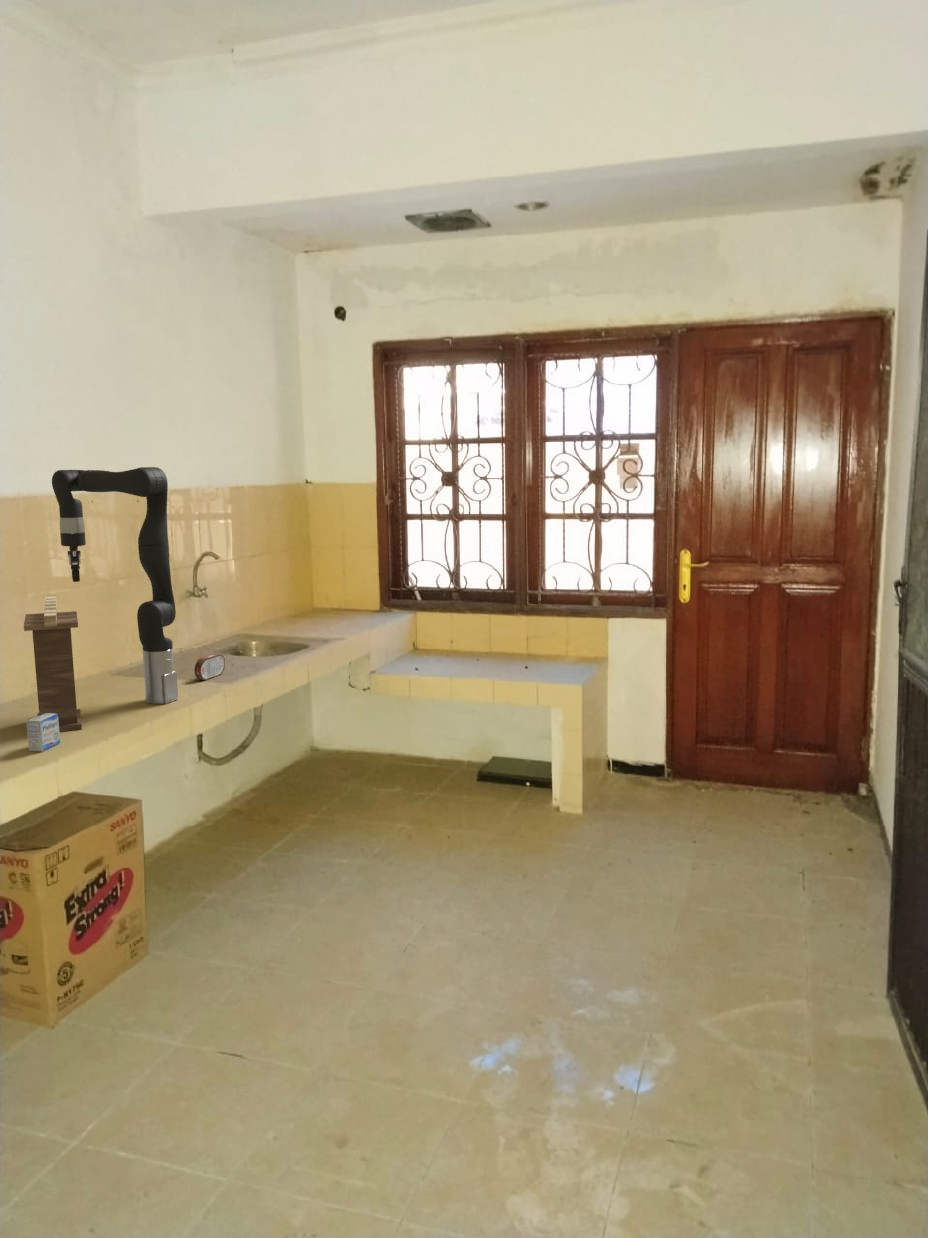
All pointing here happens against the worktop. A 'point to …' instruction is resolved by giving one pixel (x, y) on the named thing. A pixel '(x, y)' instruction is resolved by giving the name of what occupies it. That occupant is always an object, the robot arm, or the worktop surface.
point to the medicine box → (43, 732)
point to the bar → (50, 611)
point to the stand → (55, 667)
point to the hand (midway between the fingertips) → (76, 580)
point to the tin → (209, 666)
